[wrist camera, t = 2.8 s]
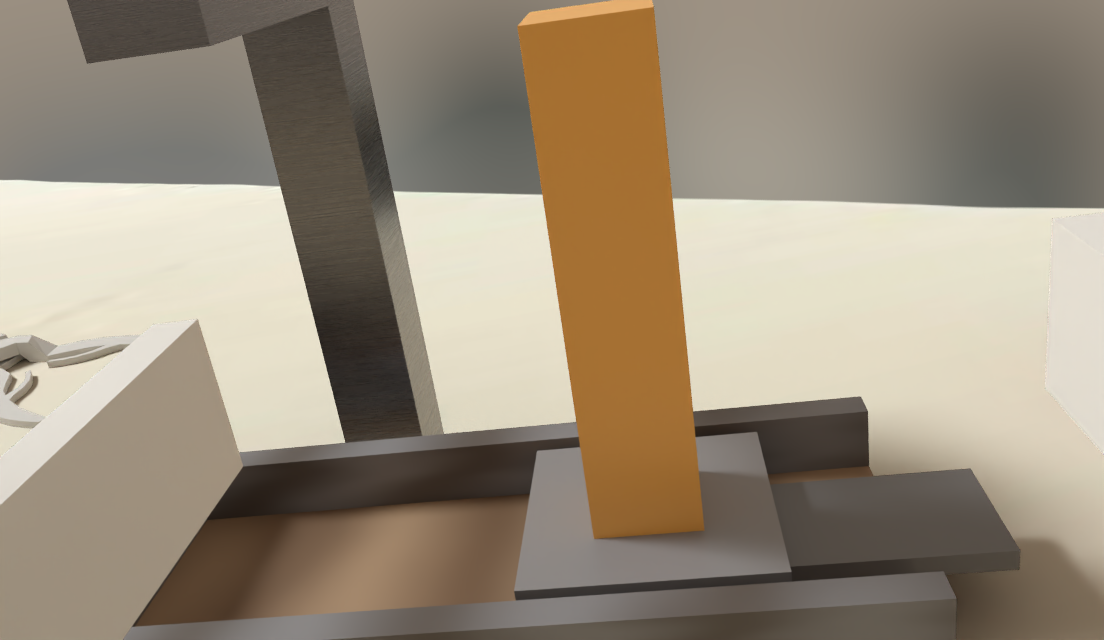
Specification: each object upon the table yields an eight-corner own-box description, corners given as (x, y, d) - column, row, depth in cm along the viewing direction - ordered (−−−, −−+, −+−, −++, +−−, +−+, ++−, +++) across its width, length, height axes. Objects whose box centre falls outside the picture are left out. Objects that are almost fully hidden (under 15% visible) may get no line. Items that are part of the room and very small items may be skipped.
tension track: (-28, 765, 27) (-99, 620, 25) (139, 545, 36) (96, 427, 34) (954, 714, 24) (957, 544, 22) (862, 488, 33) (859, 354, 31)
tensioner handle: (523, 640, 26) (411, 50, 20) (544, 492, 32) (463, 14, 26) (1041, 607, 24) (1082, -43, 18) (954, 459, 31) (964, -57, 25)
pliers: (27, 408, 46) (-137, 376, 54) (39, 437, 47) (-125, 402, 54) (188, 325, 54) (25, 307, 61) (195, 350, 55) (33, 330, 62)
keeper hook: (275, 658, 29) (65, -5, 22) (374, 445, 41) (258, -36, 33) (372, 652, 29) (191, -24, 22) (445, 438, 40) (343, -49, 33)
